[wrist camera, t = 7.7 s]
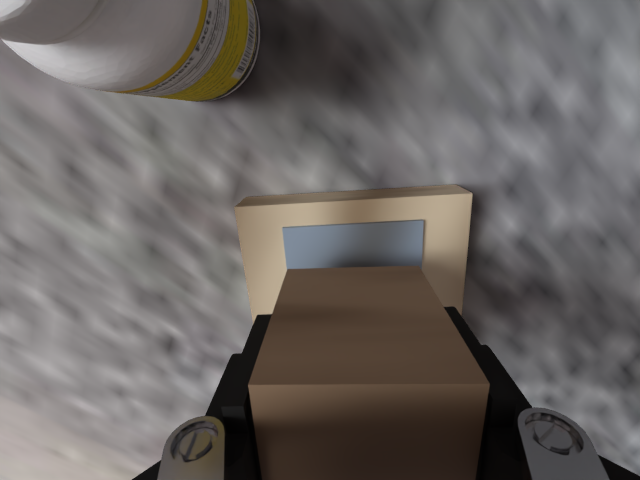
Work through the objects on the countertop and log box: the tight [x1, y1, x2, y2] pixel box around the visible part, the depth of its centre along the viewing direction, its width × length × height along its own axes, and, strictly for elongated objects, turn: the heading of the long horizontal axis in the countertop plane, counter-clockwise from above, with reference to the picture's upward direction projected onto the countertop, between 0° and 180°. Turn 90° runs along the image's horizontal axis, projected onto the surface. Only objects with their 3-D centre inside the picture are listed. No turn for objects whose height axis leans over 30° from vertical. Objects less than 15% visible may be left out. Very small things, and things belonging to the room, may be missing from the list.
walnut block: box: [248, 266, 490, 480], centre depth 10 cm, size 5×5×6 cm
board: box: [234, 184, 473, 324], centre depth 17 cm, size 10×16×2 cm, turn 4°
